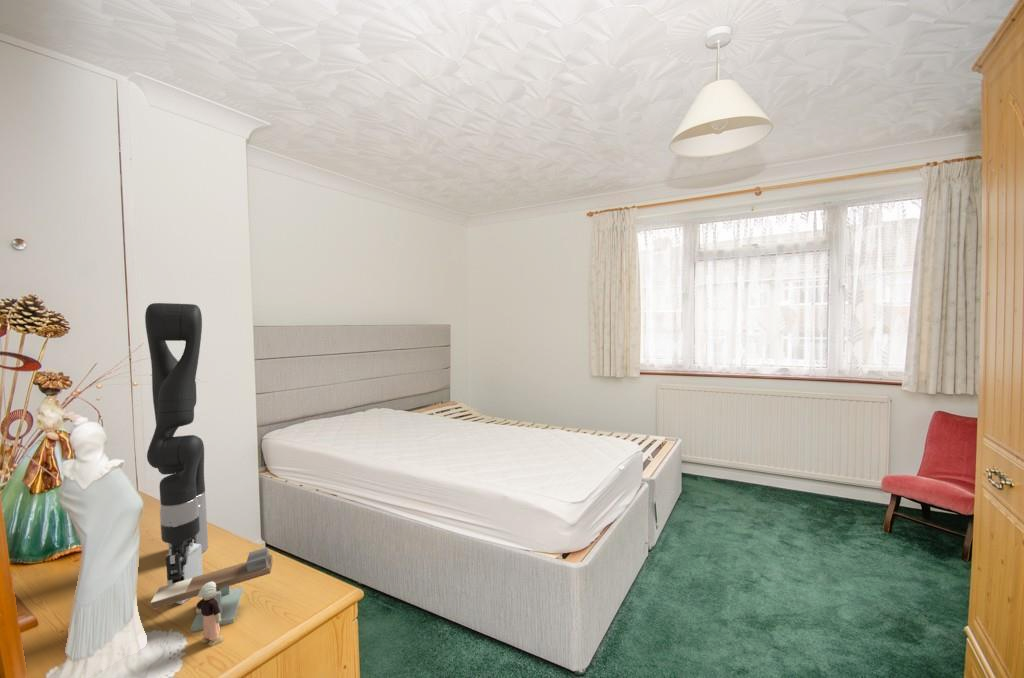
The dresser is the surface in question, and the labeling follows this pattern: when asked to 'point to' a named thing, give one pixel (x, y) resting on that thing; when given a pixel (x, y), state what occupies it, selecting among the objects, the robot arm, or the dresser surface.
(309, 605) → the dresser surface
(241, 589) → the beam stand
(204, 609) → the grandmother figurine
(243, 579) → the beam
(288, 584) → the dresser surface
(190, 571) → the skincare box
